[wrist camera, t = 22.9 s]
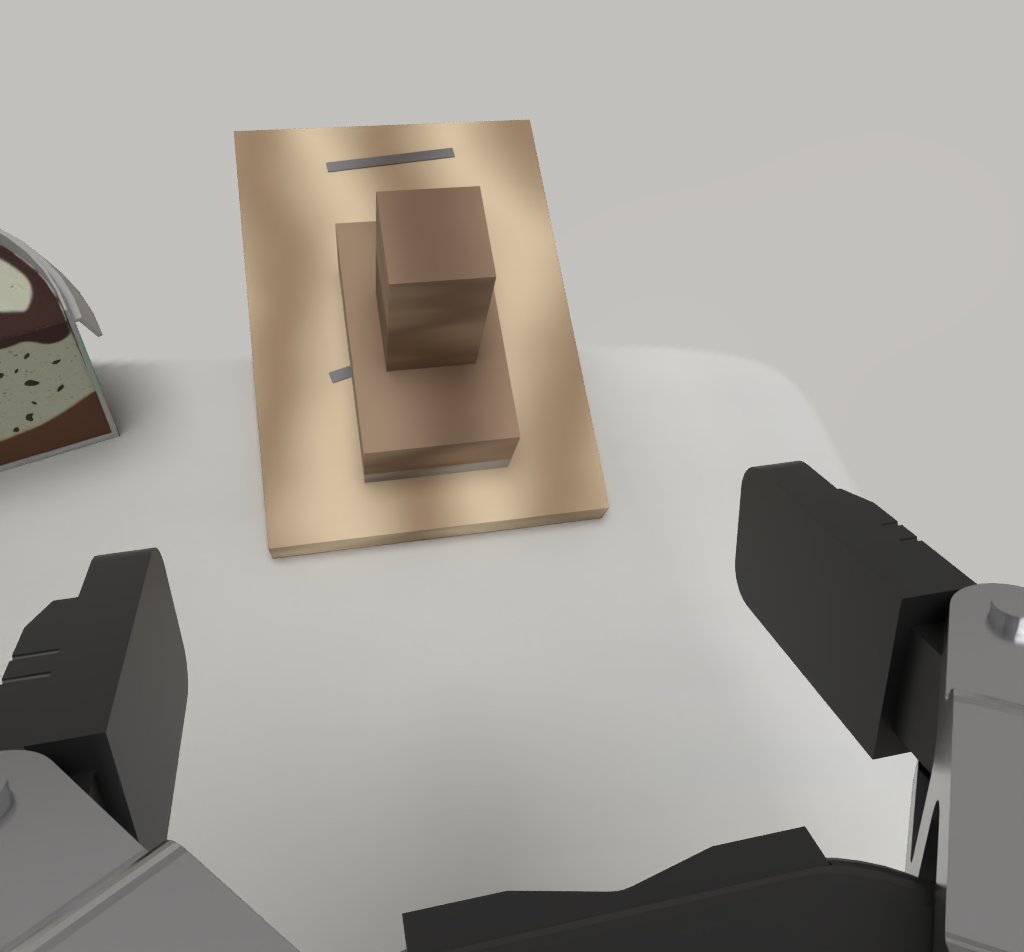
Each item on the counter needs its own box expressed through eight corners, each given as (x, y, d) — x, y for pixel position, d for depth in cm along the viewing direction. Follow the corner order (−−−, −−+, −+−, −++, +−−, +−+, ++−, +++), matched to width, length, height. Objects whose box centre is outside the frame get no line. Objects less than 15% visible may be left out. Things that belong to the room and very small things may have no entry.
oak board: (272, 558, 37) (268, 548, 36) (238, 152, 44) (233, 130, 42) (601, 517, 40) (609, 507, 38) (525, 140, 46) (529, 118, 45)
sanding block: (364, 483, 37) (361, 380, 28) (338, 269, 40) (327, 112, 31) (507, 466, 38) (550, 363, 29) (472, 260, 41) (500, 105, 32)
